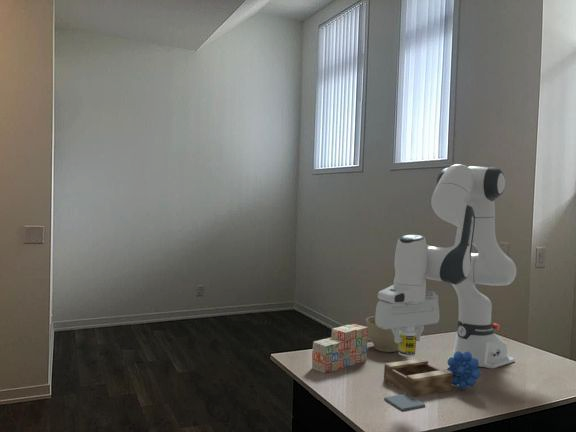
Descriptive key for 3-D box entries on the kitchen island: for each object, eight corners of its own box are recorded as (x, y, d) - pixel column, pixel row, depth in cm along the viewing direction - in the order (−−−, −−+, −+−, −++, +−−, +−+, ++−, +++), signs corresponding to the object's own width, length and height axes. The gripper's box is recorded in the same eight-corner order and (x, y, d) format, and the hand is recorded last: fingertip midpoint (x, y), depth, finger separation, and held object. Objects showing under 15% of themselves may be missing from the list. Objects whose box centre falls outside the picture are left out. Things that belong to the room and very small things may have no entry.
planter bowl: (380, 339, 200) (381, 313, 200) (415, 349, 189) (416, 321, 189) (356, 347, 189) (357, 319, 188) (393, 358, 178) (394, 328, 177)
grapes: (487, 392, 149) (489, 353, 148) (474, 397, 145) (476, 357, 144) (454, 380, 158) (456, 343, 158) (441, 384, 154) (443, 346, 154)
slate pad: (406, 395, 145) (406, 393, 145) (425, 406, 137) (425, 404, 137) (384, 399, 141) (384, 397, 141) (402, 411, 134) (402, 408, 134)
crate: (421, 374, 163) (421, 358, 162) (451, 389, 150) (452, 372, 150) (383, 379, 156) (384, 363, 156) (412, 396, 144) (413, 379, 143)
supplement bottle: (405, 357, 136) (406, 327, 135) (394, 352, 140) (395, 323, 139) (419, 355, 138) (420, 326, 137) (407, 350, 142) (408, 321, 142)
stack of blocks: (324, 374, 160) (326, 337, 160) (311, 368, 165) (312, 332, 164) (366, 361, 174) (368, 326, 174) (353, 356, 179) (354, 322, 178)
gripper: (430, 288, 145) (428, 335, 146) (372, 292, 137) (371, 341, 137) (445, 293, 140) (443, 341, 140) (386, 297, 131) (384, 348, 131)
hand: (407, 341), depth 139 cm, fingers closed on supplement bottle, 5 cm apart
